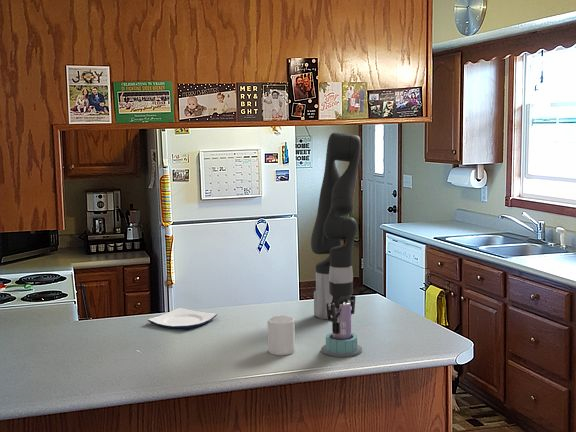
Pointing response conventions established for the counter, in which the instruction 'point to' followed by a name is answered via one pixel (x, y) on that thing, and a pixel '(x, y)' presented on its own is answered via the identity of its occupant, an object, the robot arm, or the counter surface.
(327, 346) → the holder
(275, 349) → the mug
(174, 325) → the plate
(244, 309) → the counter surface
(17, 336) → the counter surface
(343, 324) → the beverage can
